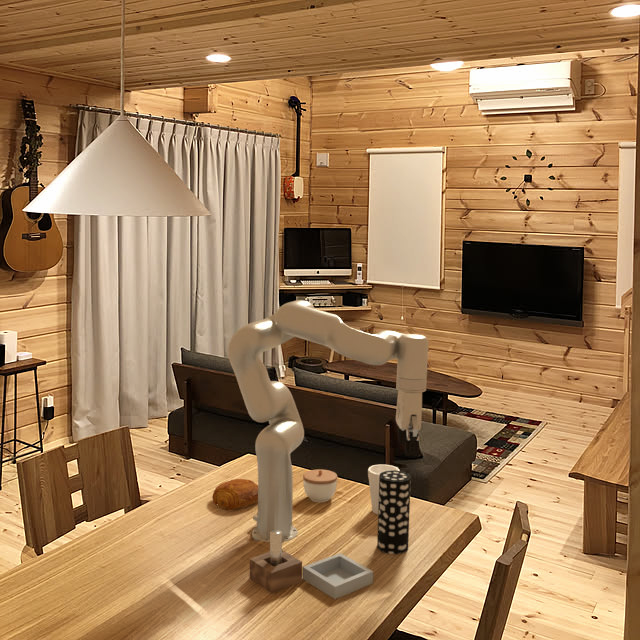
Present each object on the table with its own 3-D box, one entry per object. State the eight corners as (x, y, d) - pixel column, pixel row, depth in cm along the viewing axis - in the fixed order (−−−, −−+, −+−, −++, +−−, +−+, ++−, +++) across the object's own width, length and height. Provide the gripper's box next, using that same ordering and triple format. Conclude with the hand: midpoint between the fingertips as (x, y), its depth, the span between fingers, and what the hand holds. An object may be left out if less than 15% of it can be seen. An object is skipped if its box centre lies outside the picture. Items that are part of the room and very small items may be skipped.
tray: (302, 582, 173) (302, 566, 173) (339, 567, 181) (340, 552, 180) (334, 603, 164) (335, 586, 163) (372, 586, 172) (373, 571, 171)
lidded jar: (299, 493, 229) (300, 465, 228) (331, 491, 232) (332, 463, 231) (307, 506, 219) (307, 477, 218) (340, 503, 222) (341, 474, 220)
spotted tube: (406, 555, 188) (409, 482, 185) (375, 552, 190) (377, 480, 187) (409, 542, 196) (411, 472, 193) (379, 538, 198) (381, 469, 195)
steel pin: (267, 579, 172) (267, 532, 171) (276, 575, 174) (277, 529, 172) (274, 583, 170) (274, 536, 169) (283, 580, 172) (284, 533, 170)
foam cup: (377, 519, 211) (378, 477, 209) (361, 508, 219) (362, 467, 217) (404, 513, 215) (405, 472, 213) (387, 502, 223) (388, 462, 221)
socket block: (249, 582, 173) (249, 558, 172) (279, 571, 179) (279, 548, 178) (271, 597, 166) (271, 573, 165) (301, 585, 172) (302, 561, 171)
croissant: (269, 508, 223) (272, 483, 223) (232, 516, 211) (235, 489, 211) (238, 494, 233) (241, 470, 232) (200, 501, 221) (204, 476, 220)
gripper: (391, 375, 188) (387, 438, 191) (402, 391, 171) (399, 460, 174) (419, 376, 189) (415, 438, 191) (433, 392, 172) (429, 460, 174)
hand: (407, 449), depth 182 cm, fingers open, 9 cm apart
